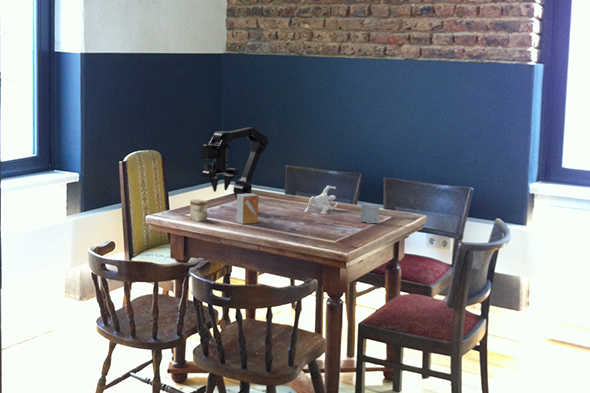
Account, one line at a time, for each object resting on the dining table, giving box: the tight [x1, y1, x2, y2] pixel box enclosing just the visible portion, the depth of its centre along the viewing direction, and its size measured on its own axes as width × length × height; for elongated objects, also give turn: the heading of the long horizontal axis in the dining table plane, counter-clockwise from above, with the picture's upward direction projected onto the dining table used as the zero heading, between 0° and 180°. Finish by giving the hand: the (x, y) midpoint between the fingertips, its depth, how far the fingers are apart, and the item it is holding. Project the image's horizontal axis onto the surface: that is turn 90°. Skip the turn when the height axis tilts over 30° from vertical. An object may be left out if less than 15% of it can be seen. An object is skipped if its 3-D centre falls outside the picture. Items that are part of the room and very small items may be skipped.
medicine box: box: [359, 203, 380, 224], centre depth 312 cm, size 8×4×9 cm, turn 71°
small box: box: [235, 192, 259, 225], centre depth 303 cm, size 8×6×13 cm
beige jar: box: [189, 198, 208, 222], centre depth 305 cm, size 6×6×9 cm
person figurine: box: [303, 185, 340, 215], centre depth 335 cm, size 13×13×18 cm
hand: (220, 190), depth 313 cm, fingers open, 6 cm apart
